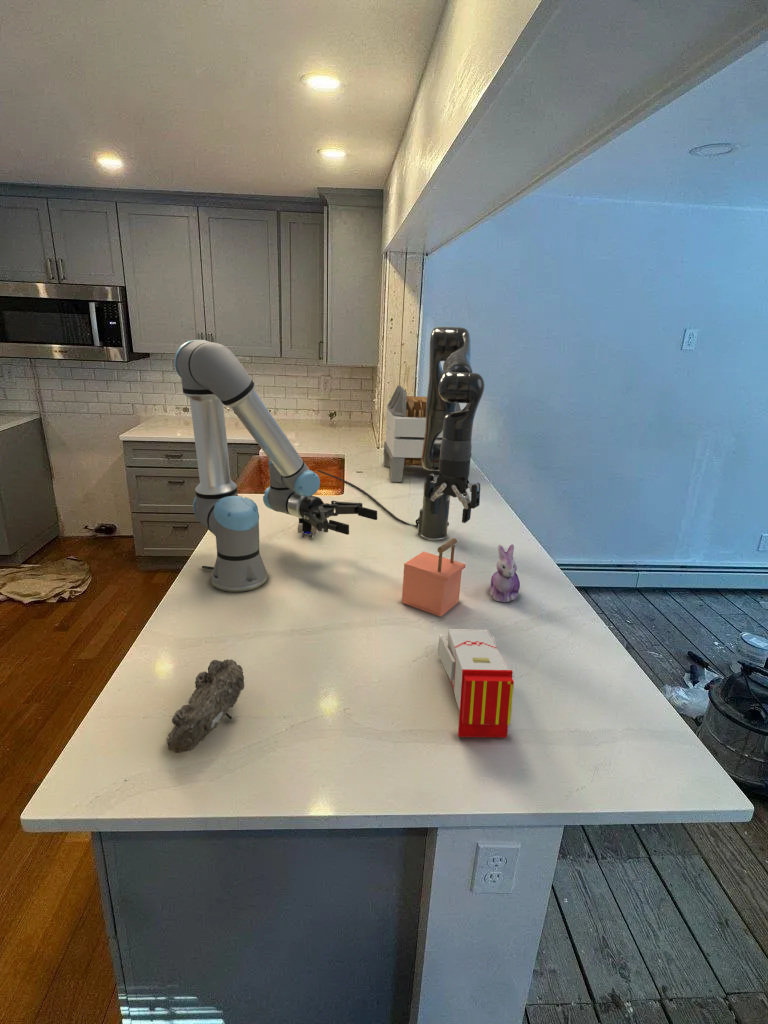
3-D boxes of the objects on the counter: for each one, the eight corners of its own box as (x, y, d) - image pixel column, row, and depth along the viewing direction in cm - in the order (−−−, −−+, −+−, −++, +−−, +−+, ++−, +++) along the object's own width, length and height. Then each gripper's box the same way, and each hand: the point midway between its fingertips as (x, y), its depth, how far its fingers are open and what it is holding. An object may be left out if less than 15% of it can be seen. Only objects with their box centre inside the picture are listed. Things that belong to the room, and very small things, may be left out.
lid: (465, 567, 151) (468, 540, 148) (447, 581, 143) (450, 552, 140) (423, 554, 158) (425, 528, 155) (403, 566, 150) (405, 539, 147)
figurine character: (316, 543, 192) (320, 523, 205) (316, 523, 188) (320, 504, 202) (297, 543, 191) (302, 522, 205) (296, 523, 188) (301, 503, 202)
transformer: (382, 463, 289) (386, 382, 275) (445, 464, 293) (451, 384, 279) (390, 482, 257) (394, 392, 243) (460, 483, 261) (468, 394, 247)
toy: (488, 613, 130) (523, 677, 101) (484, 667, 133) (517, 744, 104) (435, 612, 130) (455, 676, 101) (432, 666, 133) (451, 743, 103)
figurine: (502, 606, 153) (509, 556, 148) (479, 590, 162) (485, 541, 157) (529, 600, 157) (536, 550, 152) (505, 584, 166) (512, 537, 161)
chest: (458, 601, 155) (462, 566, 152) (440, 616, 147) (444, 580, 144) (420, 588, 161) (423, 554, 158) (401, 602, 153) (403, 567, 150)
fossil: (192, 660, 117) (244, 628, 112) (224, 691, 120) (276, 661, 115) (142, 746, 98) (202, 712, 93) (182, 779, 101) (242, 748, 96)
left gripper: (332, 506, 184) (386, 521, 173) (278, 531, 164) (335, 549, 153) (332, 484, 181) (387, 498, 170) (276, 506, 162) (335, 523, 151)
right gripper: (422, 453, 139) (418, 515, 145) (475, 464, 132) (468, 529, 137) (437, 448, 145) (432, 508, 150) (488, 458, 138) (481, 520, 143)
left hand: (362, 522), depth 162 cm, fingers open, 13 cm apart
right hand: (449, 518), depth 144 cm, fingers open, 8 cm apart
